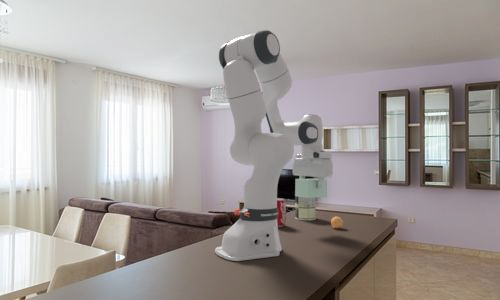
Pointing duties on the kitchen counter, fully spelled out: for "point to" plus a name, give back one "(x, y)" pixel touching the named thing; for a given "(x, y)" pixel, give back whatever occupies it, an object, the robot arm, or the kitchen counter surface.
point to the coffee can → (305, 208)
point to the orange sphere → (336, 222)
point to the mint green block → (310, 188)
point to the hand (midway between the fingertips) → (311, 187)
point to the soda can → (281, 212)
